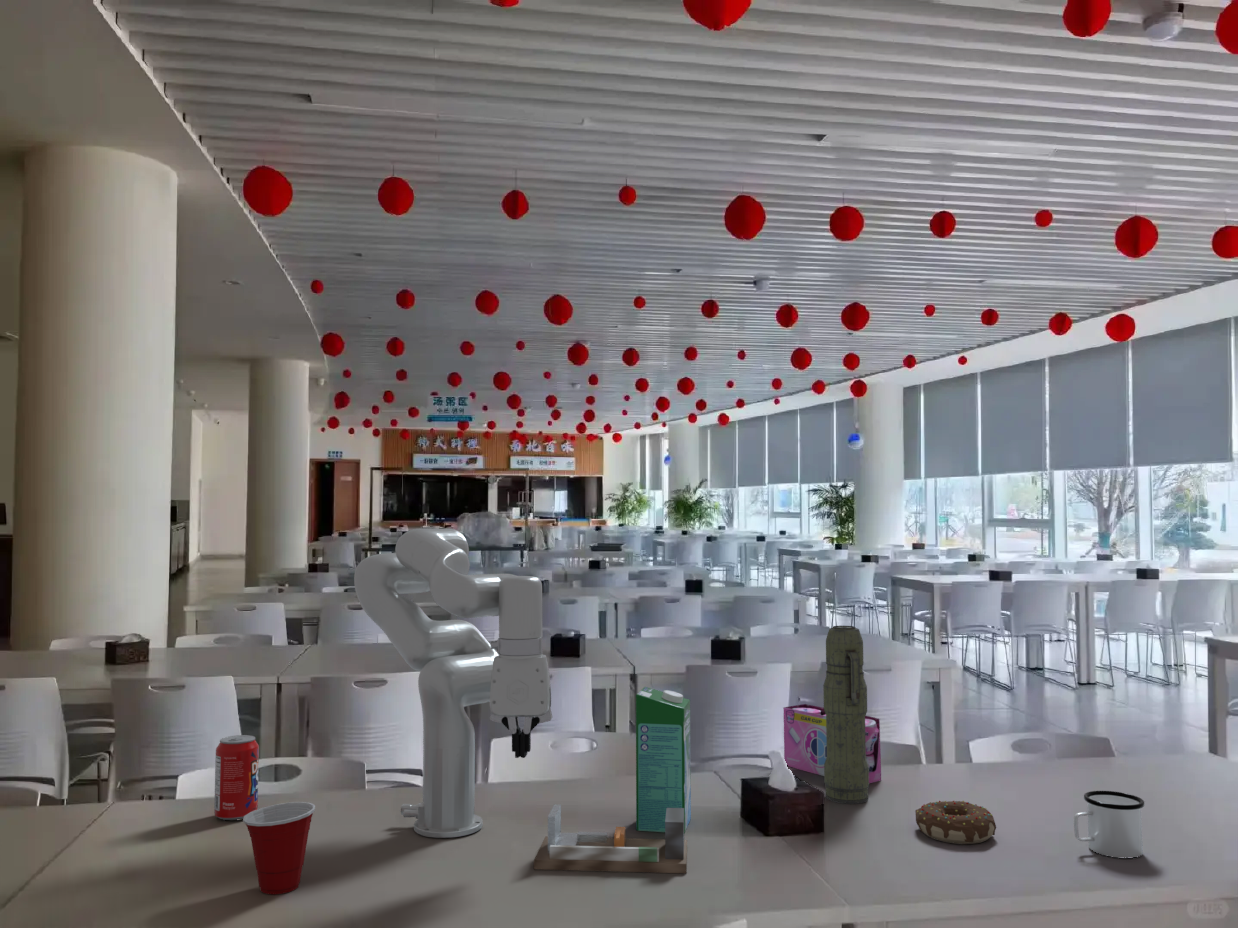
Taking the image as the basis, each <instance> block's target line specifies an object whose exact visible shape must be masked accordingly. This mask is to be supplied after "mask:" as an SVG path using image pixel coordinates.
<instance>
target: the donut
mask: <svg viewBox="0 0 1238 928" xmlns="http://www.w3.org/2000/svg"><path fill="white" fill-rule="evenodd" d="M914 812H915V822H916V825H917V827H918V829H919V830H920V832H921V833H924V835H926V836H927V837H929V838H931V839H933V840H936V841H941V842H944V843H948V844H949V843H951V844H958V845H971V844H972V845H973V844H980V843H984V842H986V841H988V840H989V839H990V838H991V837H992V836H995V833H996V830H997V825H996V822H995V817H994V816H993V814H992V813H991V812H990V811H989V809H987V808H986V807H984V806H981V805H980V806H979V805H977V804H974V803H970V801H965V800H962V801H961V800H952V801H951V800H950V801H947V800H943V801H941V800H939V801H934V802H928V803H926V804H925V803H924V804H923V805H921V807H920V808H918V809H915V811H914Z"/></svg>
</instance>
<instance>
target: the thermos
mask: <svg viewBox="0 0 1238 928" xmlns="http://www.w3.org/2000/svg"><path fill="white" fill-rule="evenodd" d="M825 665H826V670H825V676H826V677H825V680H824V682H823V685H822V687H823V689H822V690H823V708H824V711H825V714H826V738H827V758H826V761H825V763H824V776H823V777H824V779H823V780H824V783H823V784H824V786H825V796H826V797H825V798H826V799H827V800H828V801H831V802H836V803H840V804H855V805H856V804H861V803H862V804H863V803H866V802H867V801H868V800H869V787H870V783H869V766H868V763H867V761H866V742H865V716H867V713H868V685H867V684H866V680H865V674H864V671H863V670H864V669H863V666H864V640H863V637H862V633H861V630H860V629H859V628H858V627H857V628H856V626H853V625H833V626H832V627H829V629H828V632H827V635H826V639H825Z"/></svg>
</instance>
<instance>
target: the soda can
mask: <svg viewBox="0 0 1238 928" xmlns="http://www.w3.org/2000/svg"><path fill="white" fill-rule="evenodd" d="M259 753H260V745H259V744H258V741H256V736H254V735H251V734H250V735H249V734H248V735H247V734H238V735H230V736H224V737H222V738H220V739H219V743H218V745H217V746H216V748H215V758H214V759H215V761H214V762H215V763H214V764H215V765H214V767H215V768H214V807H213V808H214V809H213V810H214V816H215V818H218V819H220V820H221V819H223V820H222V821H225V820H237V819H243V818H244V816H245V815H247V814H248V813H250V812H252V811H255V810H257V809H259V807H258V806H259V758H260V757H259V756H260V755H259ZM237 821H238V820H237Z"/></svg>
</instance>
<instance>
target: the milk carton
mask: <svg viewBox="0 0 1238 928" xmlns="http://www.w3.org/2000/svg"><path fill="white" fill-rule="evenodd" d="M691 768H692V767H691V700H690V699H688V698H685V697H684V695H683V694H682V693H679V692H677V691H673V690H670V689H669V690H668V689H666V690H665V689H664V690H663V691H661V690H659V689H658V690H657V689H654V688H651V687H648V686H644V687H643V688H642V689H641V690H639V691H638V692H637V693H636V695H635V789H636V790H635V796H636V797H635V799H636V800H635V807H636V808H635V819H636V821H635V822H636V824H635V825H636V826H635V827H636V829H635V830H636V831H639V832H653V833H665V818H666V809H667V808H684V834H685V833H686V831H687V828H688V826H689V824H690V822H691V819H692V814H691V813H692V812H691V810H692V808H691V807H692V803H691V802H692V801H691V800H692V792H691V791H692V789H691V786H692V785H691V783H692V779H691V776H692V775H691V774H692V773H691Z"/></svg>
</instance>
